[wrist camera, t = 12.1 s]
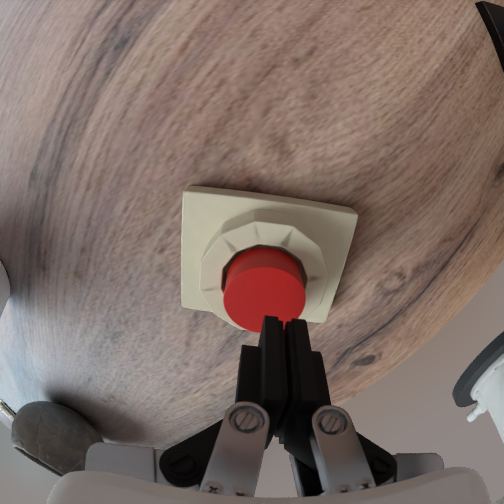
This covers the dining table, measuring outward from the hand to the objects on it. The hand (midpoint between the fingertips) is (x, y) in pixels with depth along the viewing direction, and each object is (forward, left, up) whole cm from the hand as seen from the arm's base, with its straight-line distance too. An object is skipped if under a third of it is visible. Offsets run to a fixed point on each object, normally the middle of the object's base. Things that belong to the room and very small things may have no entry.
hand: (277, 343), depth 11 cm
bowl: (-35, +28, -8) cm, 45 cm away
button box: (0, +1, -8) cm, 8 cm away
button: (0, +1, -5) cm, 5 cm away
